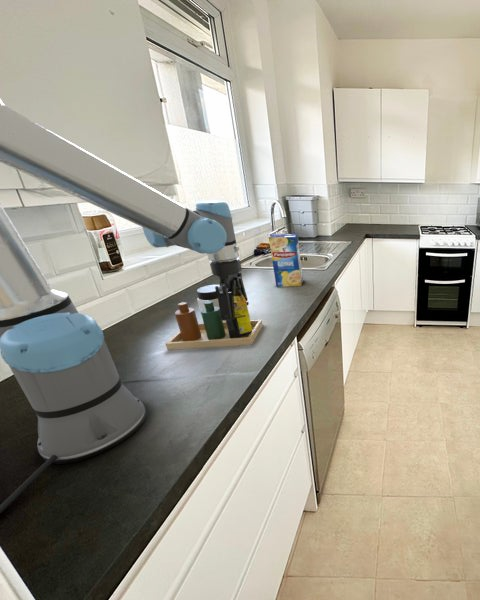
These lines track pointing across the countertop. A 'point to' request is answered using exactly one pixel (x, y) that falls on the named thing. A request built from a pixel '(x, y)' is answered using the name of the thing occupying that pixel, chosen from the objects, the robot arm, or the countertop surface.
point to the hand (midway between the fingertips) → (240, 331)
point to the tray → (204, 342)
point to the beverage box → (286, 259)
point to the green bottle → (213, 321)
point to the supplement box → (242, 315)
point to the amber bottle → (187, 323)
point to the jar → (207, 296)
